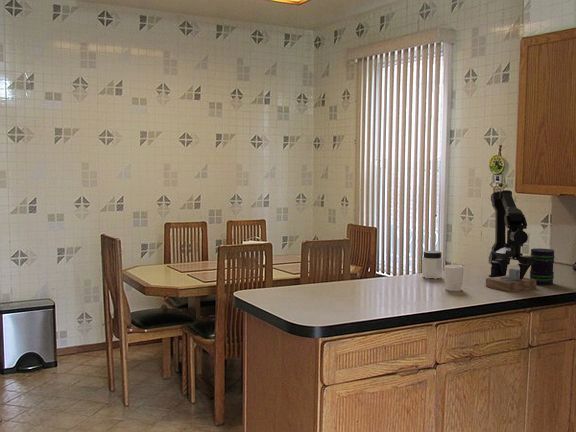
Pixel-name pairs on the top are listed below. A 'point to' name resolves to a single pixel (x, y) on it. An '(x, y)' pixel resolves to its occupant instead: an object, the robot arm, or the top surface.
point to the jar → (432, 264)
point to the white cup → (453, 277)
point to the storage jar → (542, 266)
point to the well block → (510, 284)
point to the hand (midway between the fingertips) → (512, 277)
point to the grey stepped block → (513, 275)
